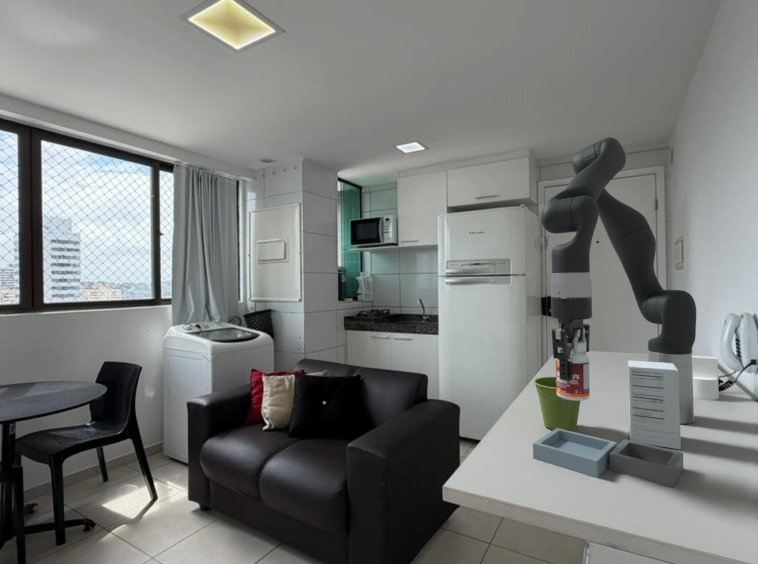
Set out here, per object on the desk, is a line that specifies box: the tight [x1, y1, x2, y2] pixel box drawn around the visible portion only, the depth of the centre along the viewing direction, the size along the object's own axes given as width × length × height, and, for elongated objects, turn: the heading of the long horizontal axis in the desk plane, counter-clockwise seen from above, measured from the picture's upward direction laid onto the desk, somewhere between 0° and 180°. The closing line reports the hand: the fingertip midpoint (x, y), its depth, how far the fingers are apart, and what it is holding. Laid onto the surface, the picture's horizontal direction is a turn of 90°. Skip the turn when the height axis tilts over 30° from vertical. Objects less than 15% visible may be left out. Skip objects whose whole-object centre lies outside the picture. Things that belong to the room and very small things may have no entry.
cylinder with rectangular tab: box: [692, 355, 720, 401], centre depth 123 cm, size 9×9×12 cm
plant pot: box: [532, 376, 581, 432], centre depth 98 cm, size 12×12×11 cm
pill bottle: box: [555, 341, 591, 402], centre depth 82 cm, size 6×6×11 cm
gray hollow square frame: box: [609, 438, 684, 488], centre depth 76 cm, size 10×10×3 cm
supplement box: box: [627, 360, 682, 451], centre depth 90 cm, size 10×9×17 cm
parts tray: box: [532, 428, 618, 479], centre depth 81 cm, size 12×12×3 cm
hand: (572, 376), depth 81 cm, fingers closed on pill bottle, 6 cm apart
